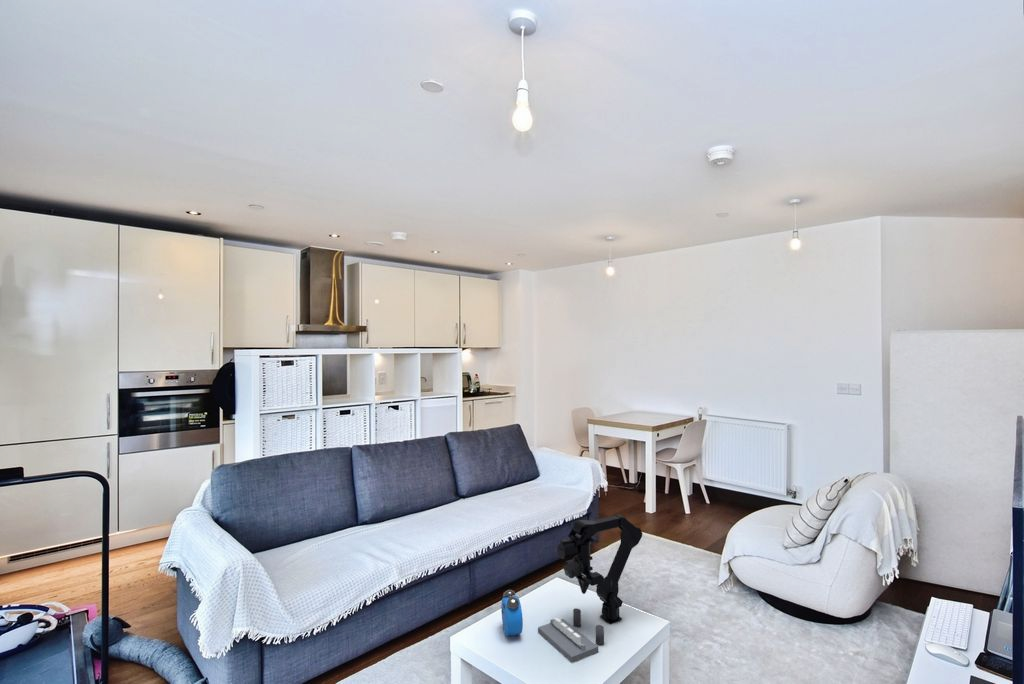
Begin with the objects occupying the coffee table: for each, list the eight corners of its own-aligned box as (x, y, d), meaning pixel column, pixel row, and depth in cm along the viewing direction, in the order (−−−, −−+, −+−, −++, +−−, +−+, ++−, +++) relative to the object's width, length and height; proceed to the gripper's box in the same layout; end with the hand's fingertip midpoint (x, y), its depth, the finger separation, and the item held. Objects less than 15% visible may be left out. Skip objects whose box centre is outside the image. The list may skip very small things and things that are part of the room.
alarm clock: (523, 641, 184) (522, 601, 184) (507, 643, 183) (506, 603, 183) (515, 623, 197) (515, 585, 197) (500, 625, 195) (500, 587, 196)
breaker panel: (563, 623, 196) (562, 614, 196) (598, 652, 177) (598, 641, 177) (538, 632, 190) (537, 622, 190) (571, 662, 171) (571, 651, 171)
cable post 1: (577, 622, 196) (577, 607, 196) (582, 626, 194) (582, 611, 194) (571, 624, 195) (571, 609, 195) (576, 628, 192) (576, 613, 192)
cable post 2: (600, 640, 184) (600, 624, 184) (605, 644, 182) (605, 627, 182) (594, 642, 183) (593, 626, 183) (599, 646, 180) (599, 630, 180)
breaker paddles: (555, 623, 191) (554, 615, 192) (583, 647, 176) (583, 638, 176) (552, 624, 191) (551, 616, 191) (580, 648, 175) (580, 639, 175)
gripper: (553, 550, 198) (553, 588, 198) (581, 567, 182) (582, 609, 182) (575, 544, 204) (575, 582, 204) (604, 560, 188) (605, 601, 187)
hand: (583, 593), depth 194 cm, fingers closed
